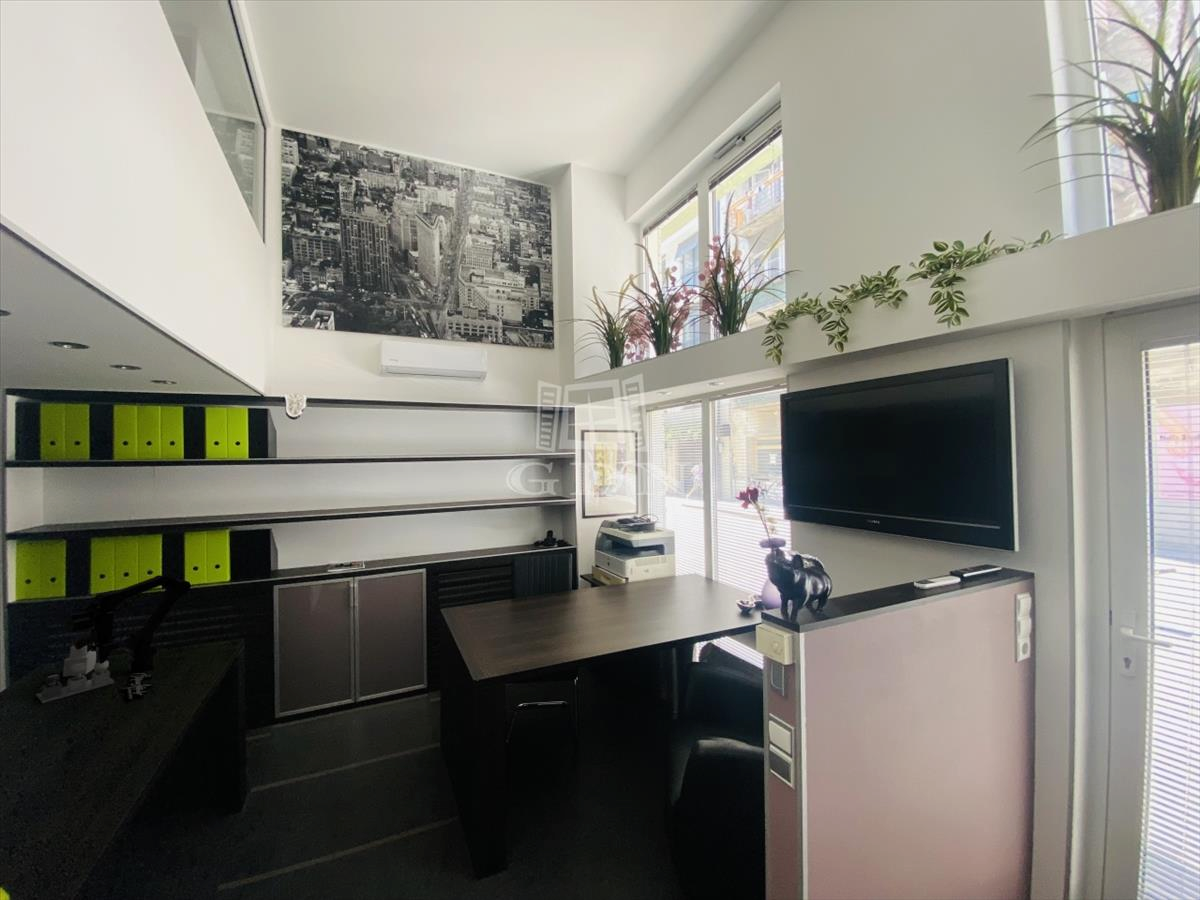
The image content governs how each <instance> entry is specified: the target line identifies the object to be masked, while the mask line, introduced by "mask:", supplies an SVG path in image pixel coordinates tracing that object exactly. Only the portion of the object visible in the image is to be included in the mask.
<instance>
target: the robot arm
mask: <svg viewBox="0 0 1200 900" xmlns="http://www.w3.org/2000/svg"><path fill="white" fill-rule="evenodd" d="M159 587H163V588H165V590H164V595H163V598H162V600H161V601H160V603H159V604H158V606H157V607H156V608H155V610H154V611H153V612H152V614H151V615H150V617H148V620H147V621H146V622H145V624H144V626H143V627H142V628H141V630H139V631H138V632H136V633H131V634H130V635H129V637H128V639H127V640H126V641H124V646H123V647H124V648H123V649H124V651H125V652H126V653H128V654H129V656H131V657H130V658H131V660H129V662H128V664H129V666H128V671H130V672H131V674H134V673H143V672H146V671H151V670H153V669H155V667H154V656H155V655H156V653H157V651H158V648H157V649H156V648H155V647H153V646H151V645H153V642H154V636H155V634H156V632H157V630H158V629H159V627H160V626H161V624H162V623H163V621H164V620H165V619H166V617H167V616H168V614H169V613H170V611H171V610H172V609H173V607H174V606H175V604H176V602H177V601H179V600H180V599H182V598H183V597H184V596H185V595H186V594H188V592H189V591H190V589H191V587H192V585H191V583H190V581H187V580H182V579H178V578H177V579H174V578H171V577H168V576H166V575H162V574H161V575H160V574H158V575H155V576H154V577H151V578H148V579H145V580H143V581H140V582H138V583H135V584H132V585H129V586H127V587H124V588H121V589H120V588H119V589H114V590H113V589H112V590H108V591H104V592H99V593H98V594H96V595H95V596H94V597H93V598H92V601H91V602H90V603H89V605H88V606H86V608H85V609H84V611H83V612H79V613H71V614H69V615H68V618H67V619H66V621H65V624H64V625H65V626H64V627H65V630H66V632H67V633H70V634H71V633H74V632H75V633H76V632H78V631H83V630H87V629H90V632H88V633H84V634H82V635H80V636H78V637H76V638H74V639H72V640H70V641H71V643H72V646H73V645H74V647H75V648H76V649H77V650H78V649H81V648H83V647H84V646H86V645H88V644H91V643H92V646H90V647H91V650H93V652H94V651H96V657H97V659H98V662H99V663H100V664H101V663H104V662H105V661H107V658H108V657H109V655H110V654H111V652H112V651H114V650H117V649H120V648H122V645H121V644H122V643H121V642H120V641H118V640H117V639H116V635H115V633H114V632H115V631H114V630H116V627H117V626H116V625H115V616H116V612H120V611H122V610H123V608H121V607H119V606H118V605H120V604H122V603H124V602H125V601H126V600H127V599H129V598H132V597H134V596H137V595H140V594H142V593H145V592H148V591H150V590H153V589H155V588H159Z"/></svg>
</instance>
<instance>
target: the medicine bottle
mask: <svg viewBox="0 0 1200 900" xmlns="http://www.w3.org/2000/svg"><path fill="white" fill-rule="evenodd" d="M90 646H93V643H91V644H88V645H86V646H84V647H83V648H81V649H78V650H77V649H76V648H75V647H74V645H73V644H72V645H71V646H70V648H69V649H70V650H69V656H68V657H67V658H65V659H64V660H63V670H62V672H63V673H62V677H63V678H65V677H66V678H67V677H74V673H70V668H71V666H72V665H74V664H78V663H86V668H85V670H84V671H82V672H81V676H82V675H84V676H85V675H87V674H88V673H90V672H91V671H93V670H94V664H96V663H97V662H96V661H97V653H96V651H94V650H93V651H92V648H91V647H90Z"/></svg>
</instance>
